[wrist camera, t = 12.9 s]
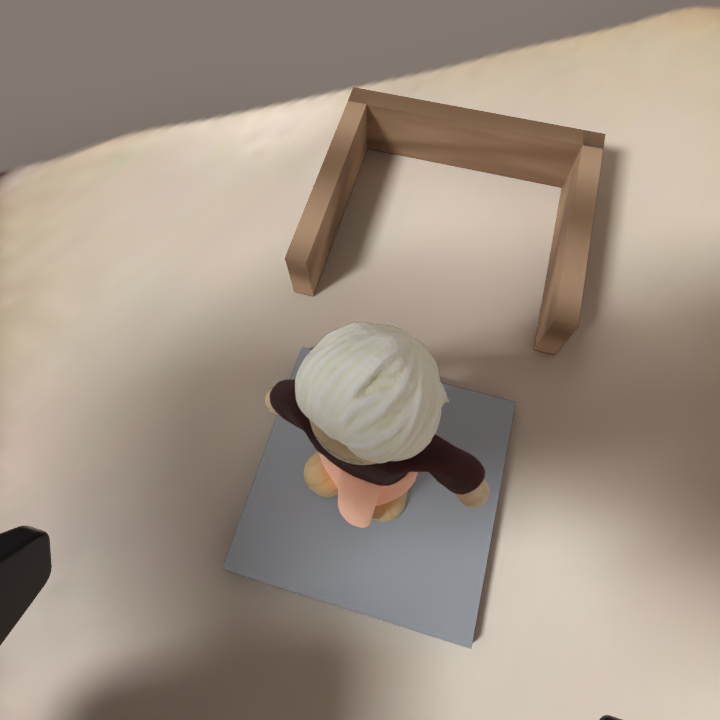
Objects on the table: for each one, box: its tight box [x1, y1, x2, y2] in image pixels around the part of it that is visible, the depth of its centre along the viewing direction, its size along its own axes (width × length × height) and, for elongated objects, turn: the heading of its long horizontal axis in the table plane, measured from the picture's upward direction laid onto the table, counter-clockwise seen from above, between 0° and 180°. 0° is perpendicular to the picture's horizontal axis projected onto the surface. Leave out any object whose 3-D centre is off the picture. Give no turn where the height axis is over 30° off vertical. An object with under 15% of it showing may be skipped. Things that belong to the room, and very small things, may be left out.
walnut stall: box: [285, 87, 605, 355], centre depth 26 cm, size 11×13×3 cm
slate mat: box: [222, 347, 516, 649], centre depth 22 cm, size 10×10×1 cm
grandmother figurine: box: [265, 322, 489, 528], centre depth 16 cm, size 8×4×13 cm, turn 75°
